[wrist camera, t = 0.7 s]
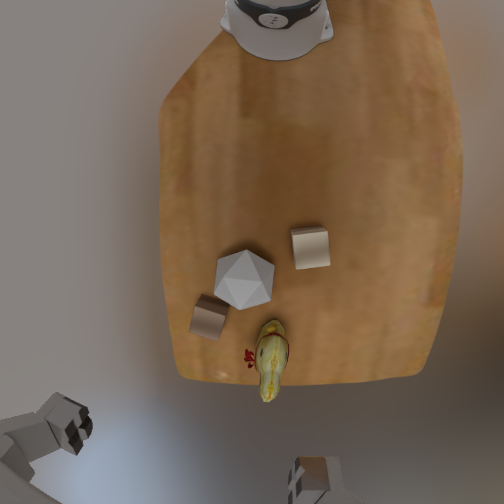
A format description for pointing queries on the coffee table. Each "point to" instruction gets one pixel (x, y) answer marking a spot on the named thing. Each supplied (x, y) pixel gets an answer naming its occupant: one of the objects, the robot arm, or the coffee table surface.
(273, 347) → the chocolate bunny
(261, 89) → the coffee table surface
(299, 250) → the beech block
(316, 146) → the coffee table surface
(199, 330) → the walnut block
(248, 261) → the die
